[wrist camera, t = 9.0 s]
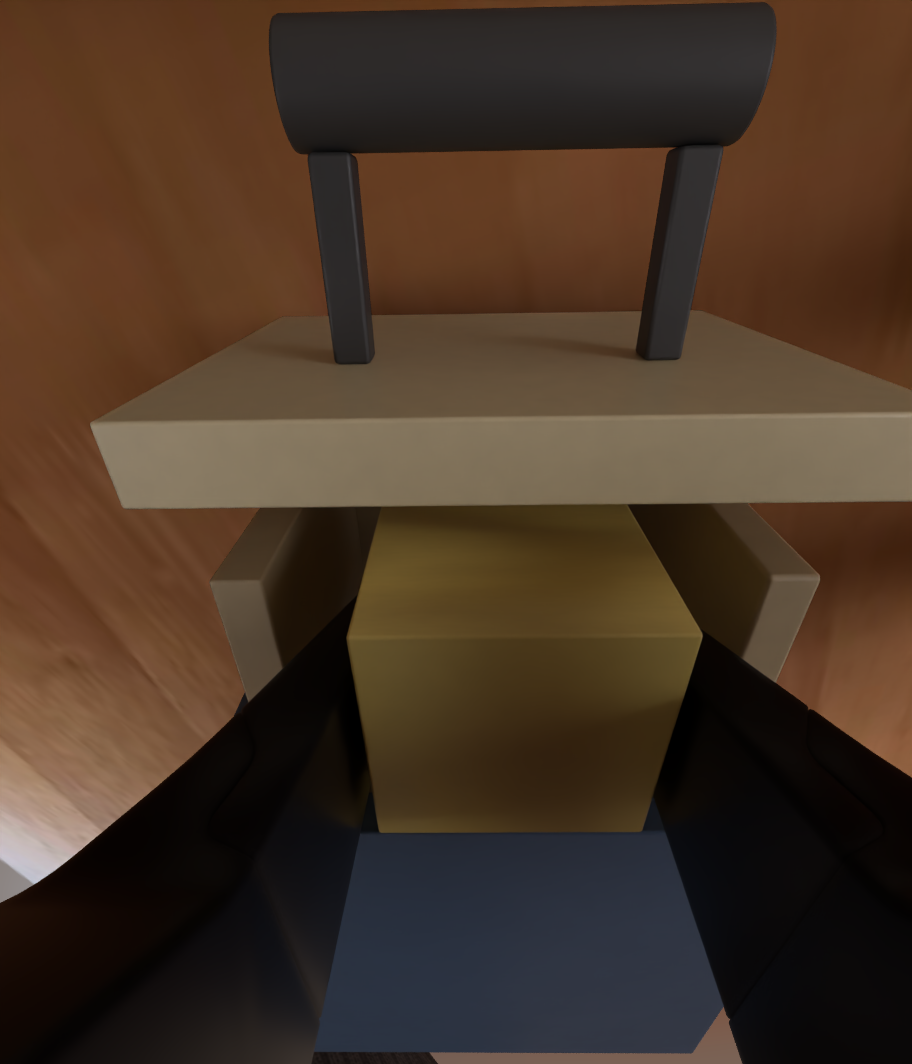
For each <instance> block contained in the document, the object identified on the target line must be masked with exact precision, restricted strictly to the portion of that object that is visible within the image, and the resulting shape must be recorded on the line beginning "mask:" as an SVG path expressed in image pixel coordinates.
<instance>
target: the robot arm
mask: <svg viewBox="0 0 912 1064" xmlns="http://www.w3.org/2000/svg"><path fill="white" fill-rule="evenodd" d="M357 596H358V594H357V595H356V596H355V597H354V598H353V599H352V600H351V601H350V602H349V603H348V604H347V605H346V606H345V607H344V608H343V609H342V610H341V611H340V612H339V613H338V614H337V615H336V616H335V617H334V618H333V619H332V620H331V621H330V622H329V623H328V624H327V625H326V626H325V627H324V628H323V629H322V630H321V631H320V632H319V633H318V634H317V635H316V636H315V637H314V638H313V639H312V640H311V641H310V642H309V643H308V644H307V645H306V646H305V647H304V648H303V649H302V650H301V651H300V652H299V653H298V654H297V655H296V656H295V657H294V658H293V659H292V660H291V661H290V662H289V663H288V664H287V665H286V666H285V667H284V668H283V669H282V670H281V671H280V672H279V673H278V674H277V675H275V676H274V677H273V678H272V679H271V680H270V681H269V682H268V683H267V684H266V685H265V686H264V687H263V688H262V689H261V690H260V691H259V692H258V693H257V694H256V695H255V696H254V697H253V698H252V699H251V700H250V701H249V702H248V703H247V704H246V705H245V706H244V707H243V708H242V710H241V712H242V713H240V712H239V713H237V714H236V715H235V716H234V717H233V718H232V719H231V720H230V721H229V722H228V723H227V724H226V725H225V726H224V727H223V728H222V729H221V730H220V731H219V732H217V733H216V734H215V735H214V736H213V737H212V738H211V739H210V740H209V741H208V742H207V743H206V744H205V745H204V746H203V747H202V748H201V749H199V750H198V751H197V752H196V753H195V754H194V755H193V756H192V757H191V758H190V759H188V760H187V761H186V762H185V763H184V764H183V765H182V766H180V767H179V768H178V769H177V770H176V771H175V772H173V773H172V774H171V775H170V776H169V777H168V778H167V779H165V780H164V781H163V782H162V783H161V784H160V785H158V786H157V787H156V788H155V789H154V790H152V791H151V792H150V793H149V794H148V795H146V796H145V797H144V798H143V799H142V800H140V801H139V802H138V803H137V804H136V805H134V806H133V807H132V808H131V809H130V810H128V811H127V812H126V813H125V814H124V815H122V816H121V817H120V818H119V819H118V820H116V821H115V822H114V823H113V824H112V825H110V826H109V827H108V828H107V829H106V830H104V831H103V832H102V833H101V834H100V835H98V836H97V837H96V838H95V839H94V840H92V841H91V842H90V843H89V844H88V845H86V846H85V847H84V848H83V849H82V850H80V851H79V852H78V853H77V854H76V855H74V856H73V857H72V858H71V859H69V860H68V861H67V862H65V863H64V864H63V865H62V866H60V867H59V868H58V869H56V870H55V871H54V872H52V873H51V874H49V875H48V876H46V877H45V878H43V879H42V880H41V881H39V882H38V883H36V884H34V885H33V886H31V887H29V888H28V889H26V890H24V891H23V892H21V893H19V894H17V895H15V896H13V897H11V898H9V899H7V900H5V901H3V902H1V903H0V1064H311V1063H312V1058H313V1053H314V1049H315V1044H316V1039H317V1035H318V1030H319V1025H320V1020H319V1018H320V1017H321V1015H322V1010H323V1006H324V1001H325V996H326V992H327V987H328V982H329V978H330V973H331V968H332V963H333V959H334V954H335V949H336V945H337V940H338V935H339V931H340V926H341V921H342V917H343V912H344V907H345V902H346V898H347V893H348V888H349V884H350V879H351V874H352V870H353V865H354V860H355V856H356V851H357V846H358V841H359V837H360V832H361V827H362V823H363V818H364V813H365V809H366V804H367V799H368V795H369V790H370V785H371V782H370V776H369V770H368V764H367V758H366V752H365V746H364V740H363V734H362V728H361V722H360V716H359V711H358V705H357V699H356V693H355V687H354V681H353V675H352V669H351V663H350V657H349V651H348V645H347V639H346V637H347V633H348V630H349V626H350V622H351V618H352V615H353V611H354V607H355V603H356V600H357ZM700 630H701V632H702V635H703V637H702V641H701V644H700V647H699V650H698V653H697V657H696V660H695V663H694V666H693V670H692V673H691V676H690V679H689V682H688V686H687V689H686V692H685V695H684V698H683V702H682V705H681V708H680V711H679V714H678V718H677V721H676V724H675V727H674V730H673V734H672V737H671V740H670V743H669V746H668V750H667V753H666V756H665V759H664V762H663V766H662V769H661V772H660V775H659V778H658V782H657V785H656V788H655V791H654V794H653V797H654V800H655V803H656V806H657V809H658V812H659V815H660V818H661V821H662V824H663V827H664V830H665V833H666V836H667V839H668V842H669V845H670V848H671V851H672V854H673V857H674V860H675V863H676V866H677V869H678V872H679V875H680V878H681V881H682V884H683V887H684V890H685V893H686V896H687V899H688V901H689V904H690V907H691V910H692V913H693V916H694V919H695V922H696V925H697V928H698V931H699V934H700V937H701V940H702V943H703V946H704V949H705V952H706V955H707V958H708V961H709V964H710V967H711V970H712V973H713V976H714V979H715V982H716V985H717V988H718V991H719V994H720V997H721V1000H722V1003H723V1006H724V1009H725V1012H726V1015H727V1017H728V1018H729V1019H730V1021H729V1025H730V1028H731V1031H732V1034H733V1037H734V1040H735V1043H736V1046H737V1049H738V1052H739V1055H740V1058H741V1061H742V1063H743V1064H912V778H911V777H910V776H908V775H907V774H905V773H904V772H902V771H901V770H899V769H898V768H896V767H895V766H893V765H892V764H890V763H889V762H887V761H885V760H884V759H882V758H881V757H879V756H878V755H876V754H875V753H873V752H872V751H870V750H869V749H868V748H866V747H865V746H863V745H862V744H860V743H859V742H857V741H856V740H855V739H853V738H852V737H850V736H849V735H847V734H846V733H845V732H843V731H842V730H840V729H839V728H837V727H836V726H835V725H833V724H832V723H831V722H829V721H828V720H826V719H825V718H824V717H822V716H821V715H819V714H818V713H817V712H815V711H814V710H812V709H810V710H808V707H807V705H805V704H804V703H803V702H801V701H800V700H799V699H797V698H796V697H794V696H793V695H792V694H790V693H789V692H788V691H786V690H785V689H783V688H782V687H781V686H779V685H778V684H776V683H775V682H774V681H772V680H771V679H770V678H768V677H767V676H765V675H764V674H763V673H761V672H760V671H759V670H757V669H756V668H754V667H753V666H752V665H750V664H749V663H748V662H746V661H745V660H743V659H742V658H741V657H739V656H738V655H737V654H735V653H734V652H732V651H731V650H730V649H728V648H727V647H726V646H724V645H723V644H721V643H720V642H719V641H717V640H716V639H714V638H713V637H712V636H710V635H709V634H708V633H706V632H705V631H703V630H702V629H701V628H700Z"/></svg>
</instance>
